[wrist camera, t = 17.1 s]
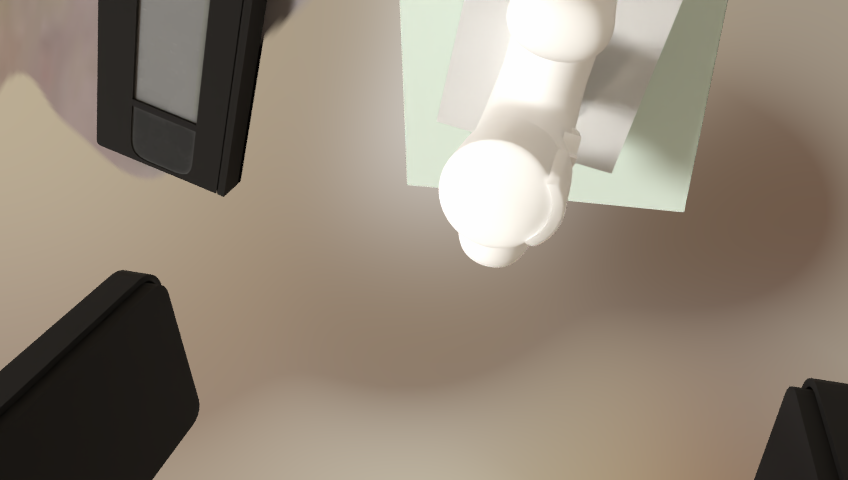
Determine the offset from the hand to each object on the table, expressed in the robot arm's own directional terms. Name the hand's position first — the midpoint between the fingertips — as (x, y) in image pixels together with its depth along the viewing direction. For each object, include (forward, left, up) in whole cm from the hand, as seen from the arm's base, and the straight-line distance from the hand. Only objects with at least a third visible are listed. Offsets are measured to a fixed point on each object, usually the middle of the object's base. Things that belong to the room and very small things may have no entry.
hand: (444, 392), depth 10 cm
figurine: (0, 0, -21) cm, 21 cm away
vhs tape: (+1, -18, -23) cm, 29 cm away
